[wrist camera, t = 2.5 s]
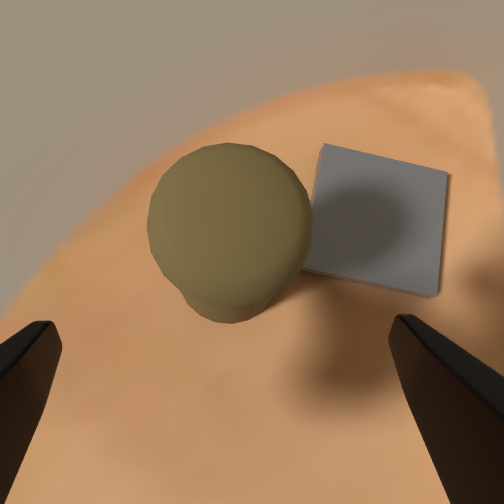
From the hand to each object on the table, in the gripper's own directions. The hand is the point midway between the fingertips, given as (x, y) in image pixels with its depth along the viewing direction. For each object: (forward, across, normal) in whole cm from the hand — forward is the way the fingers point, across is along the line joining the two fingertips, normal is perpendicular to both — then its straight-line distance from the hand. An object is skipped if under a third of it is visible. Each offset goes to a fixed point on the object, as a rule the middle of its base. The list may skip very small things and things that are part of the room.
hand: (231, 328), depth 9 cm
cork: (+10, 0, +5) cm, 11 cm away
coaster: (+12, -9, +3) cm, 15 cm away
